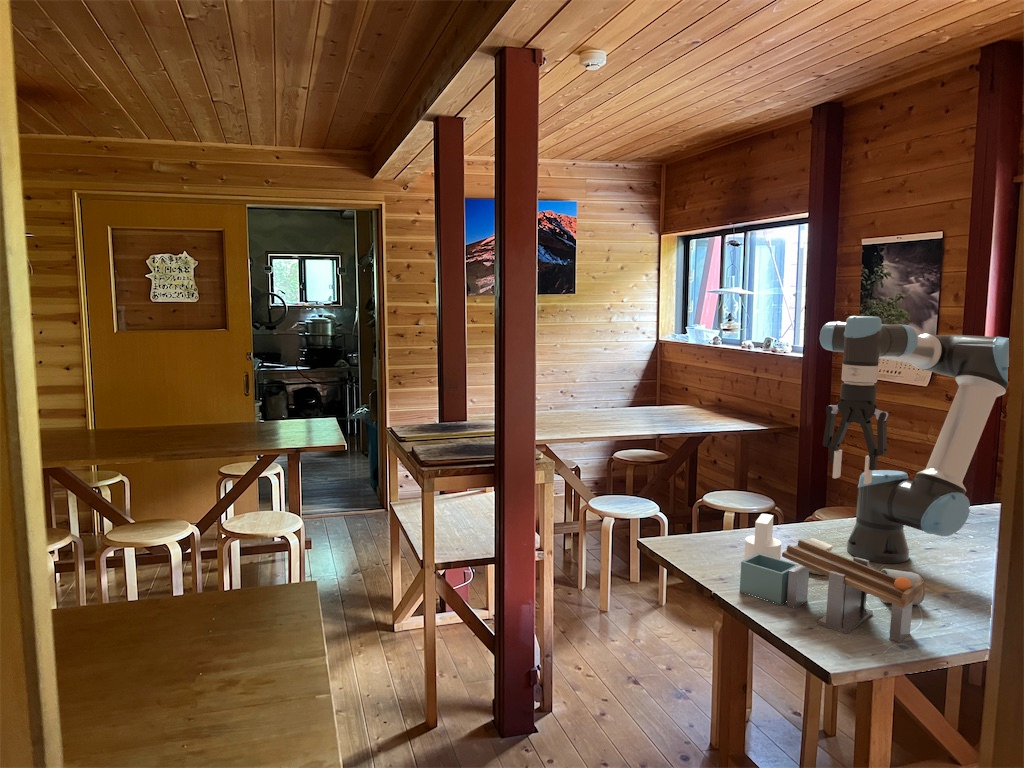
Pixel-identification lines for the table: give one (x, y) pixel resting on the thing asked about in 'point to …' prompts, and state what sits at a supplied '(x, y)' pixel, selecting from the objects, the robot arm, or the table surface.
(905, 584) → the ball
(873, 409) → the robot arm
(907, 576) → the ceramic mug
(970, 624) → the table surface
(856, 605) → the support blocks
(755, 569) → the open box
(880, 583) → the wooden ramp track
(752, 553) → the cylinder with rectangular tab
